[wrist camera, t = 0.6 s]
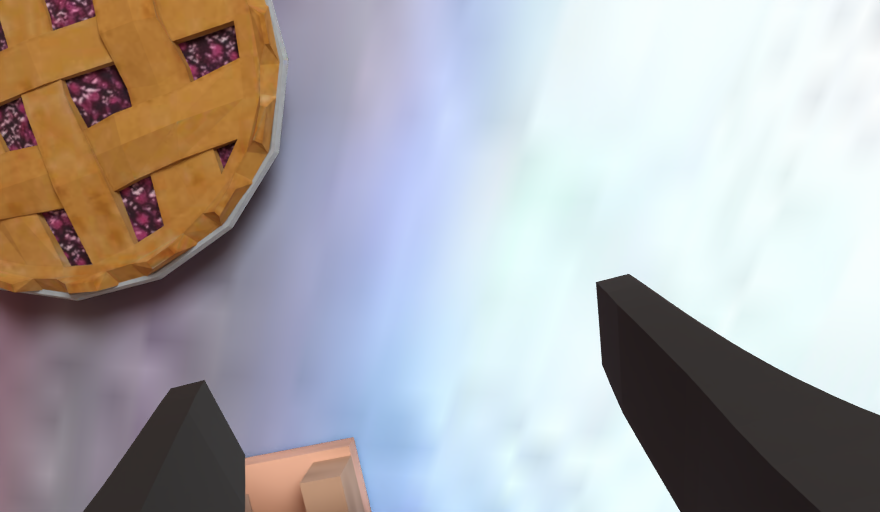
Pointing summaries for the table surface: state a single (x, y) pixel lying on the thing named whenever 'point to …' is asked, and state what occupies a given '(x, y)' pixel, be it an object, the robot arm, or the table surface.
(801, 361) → the table surface
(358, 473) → the stub
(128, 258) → the pie
